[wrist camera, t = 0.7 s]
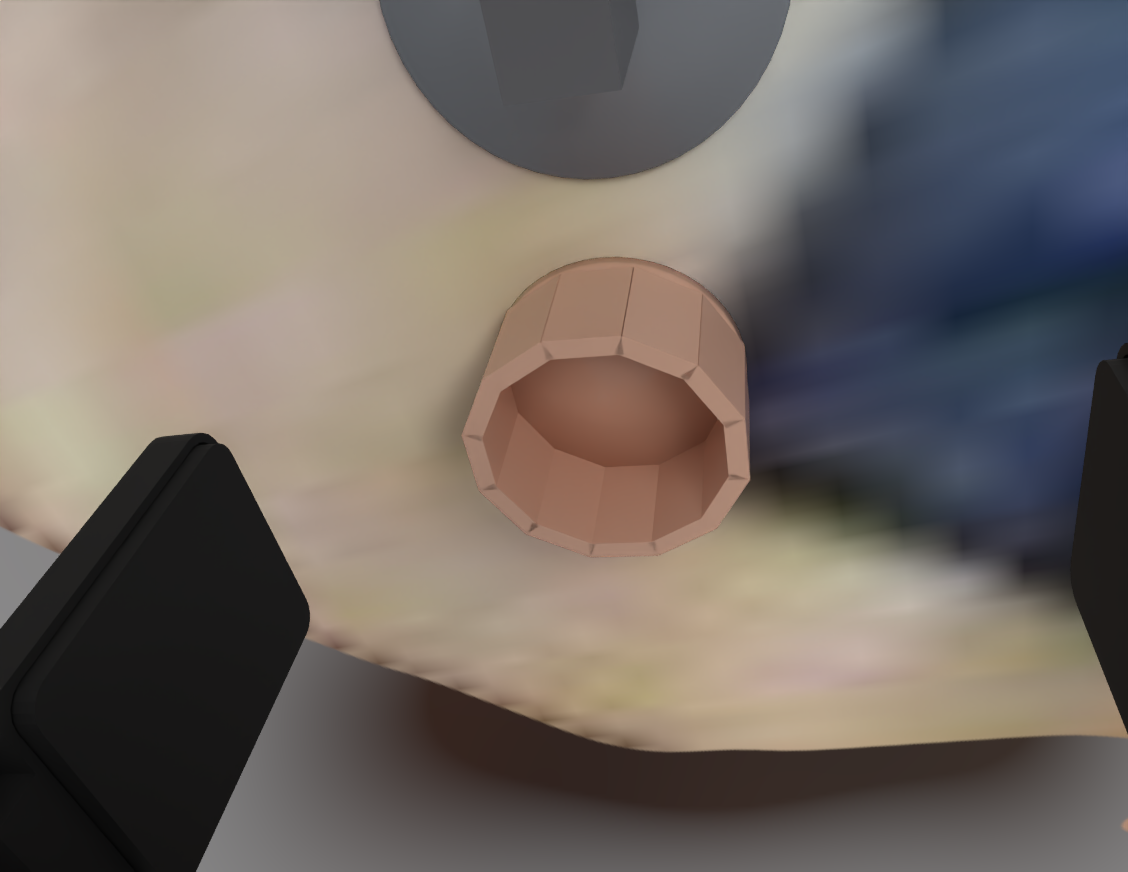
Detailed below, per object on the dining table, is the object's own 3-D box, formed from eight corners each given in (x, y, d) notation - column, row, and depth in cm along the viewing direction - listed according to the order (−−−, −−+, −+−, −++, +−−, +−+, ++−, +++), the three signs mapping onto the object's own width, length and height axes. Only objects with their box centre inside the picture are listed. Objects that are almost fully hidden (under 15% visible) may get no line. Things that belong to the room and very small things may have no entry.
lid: (322, -232, 29) (232, -208, 24) (785, -339, 26) (795, -337, 21) (440, 189, 38) (391, 274, 33) (800, 147, 35) (811, 233, 30)
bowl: (470, 270, 40) (434, 349, 35) (737, 244, 37) (737, 326, 33) (524, 470, 46) (500, 559, 42) (754, 459, 44) (756, 553, 39)
